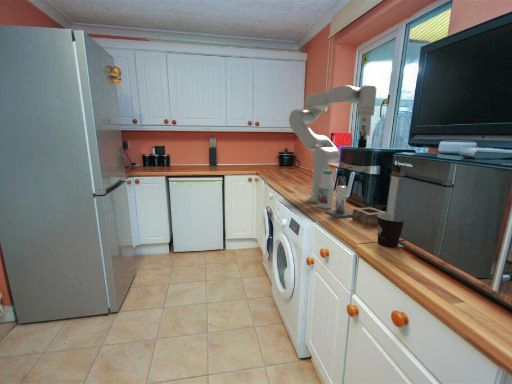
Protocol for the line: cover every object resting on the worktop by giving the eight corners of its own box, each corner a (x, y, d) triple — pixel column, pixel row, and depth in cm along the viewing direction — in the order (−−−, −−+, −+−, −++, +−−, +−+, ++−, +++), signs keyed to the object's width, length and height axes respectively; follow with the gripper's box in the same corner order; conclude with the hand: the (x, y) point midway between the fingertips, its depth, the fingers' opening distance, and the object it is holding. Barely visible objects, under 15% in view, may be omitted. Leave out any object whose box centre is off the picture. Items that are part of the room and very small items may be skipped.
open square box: (352, 219, 120) (353, 208, 119) (369, 217, 123) (370, 207, 122) (368, 225, 111) (369, 214, 110) (386, 223, 114) (387, 213, 113)
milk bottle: (327, 205, 145) (329, 169, 141) (335, 208, 138) (338, 171, 134) (314, 205, 143) (317, 169, 139) (322, 209, 136) (325, 171, 132)
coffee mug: (402, 251, 86) (406, 222, 84) (374, 246, 90) (377, 218, 87) (399, 239, 96) (403, 213, 94) (374, 235, 100) (377, 210, 98)
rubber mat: (325, 212, 130) (325, 210, 130) (341, 211, 133) (341, 209, 133) (337, 218, 121) (337, 216, 121) (354, 216, 124) (355, 214, 124)
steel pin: (338, 214, 124) (341, 187, 122) (333, 211, 128) (335, 185, 126) (346, 213, 126) (349, 187, 123) (340, 210, 130) (343, 185, 127)
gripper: (373, 110, 117) (369, 148, 121) (374, 113, 132) (370, 147, 136) (355, 110, 120) (352, 147, 124) (358, 114, 135) (355, 147, 139)
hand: (362, 147), depth 130 cm, fingers open, 9 cm apart
